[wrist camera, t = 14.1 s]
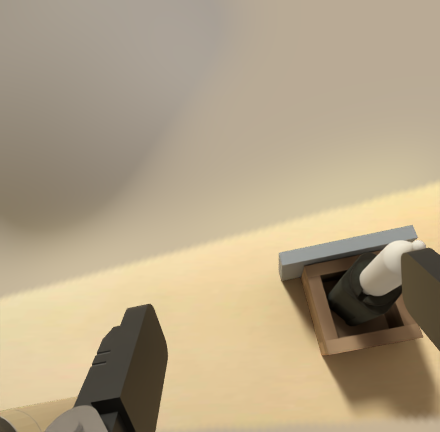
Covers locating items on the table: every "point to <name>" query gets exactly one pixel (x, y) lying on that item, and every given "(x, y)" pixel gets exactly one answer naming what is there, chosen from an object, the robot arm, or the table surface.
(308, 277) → the socket block
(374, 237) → the backstop wall
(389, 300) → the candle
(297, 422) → the table surface
